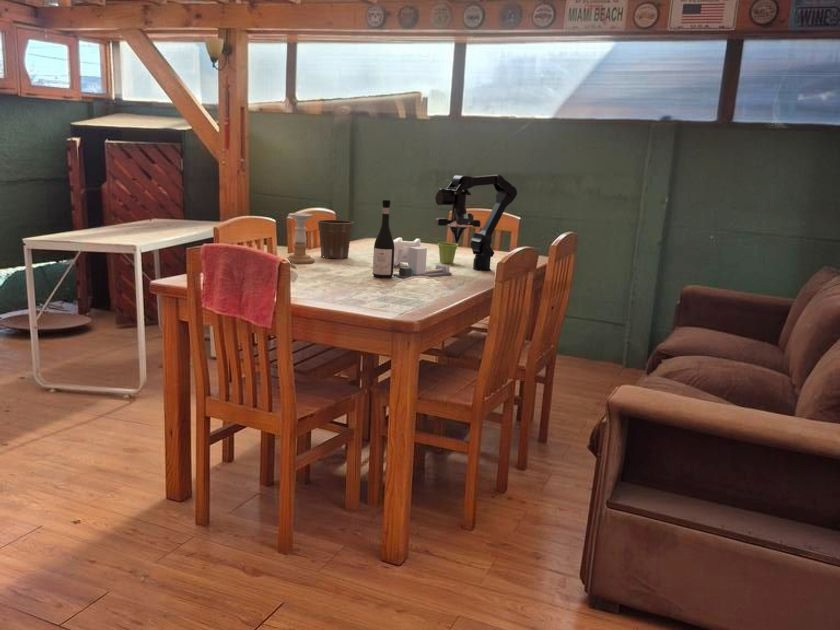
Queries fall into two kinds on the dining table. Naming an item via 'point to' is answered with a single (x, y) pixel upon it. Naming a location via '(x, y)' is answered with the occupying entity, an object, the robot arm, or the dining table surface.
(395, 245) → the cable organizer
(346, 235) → the plant pot
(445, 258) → the plant pot
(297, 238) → the candle holder
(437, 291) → the dining table surface
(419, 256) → the open-bottomed white box
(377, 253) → the wine bottle
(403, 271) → the cord comb board
